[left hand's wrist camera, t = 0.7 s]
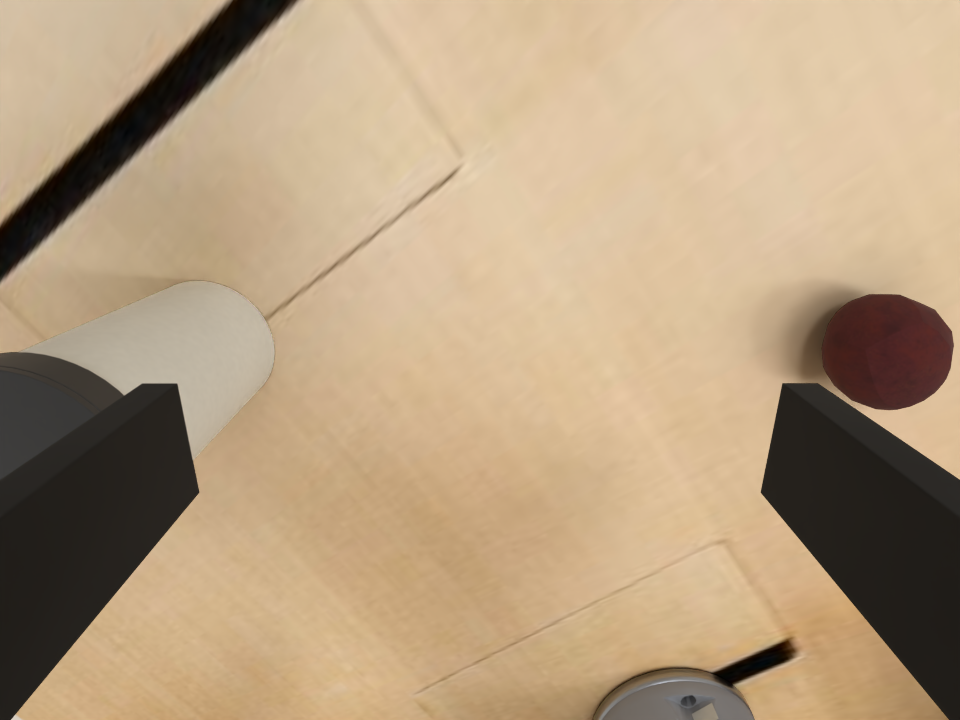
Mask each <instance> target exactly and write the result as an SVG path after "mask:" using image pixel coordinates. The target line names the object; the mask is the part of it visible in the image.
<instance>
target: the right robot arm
mask: <svg viewBox="0 0 960 720" xmlns="http://www.w3.org/2000/svg"><path fill="white" fill-rule="evenodd" d="M593 720H755V719H754V717H753V714H752V712H751V710H750V708H749V706H748V704H747V702H746V700H745V698H744V696H743V695H742V694H741V692H740V691H739V690H738V689H737V688H736V687H735V686H733V685H732V684H731V683H730V682H728V681H726V680H725V679H723V678H721V677H719V676H717V675H714V674H711V673H708V672H704V671H700V670H693V669H666V670H660V671H655V672H651V673H647V674H644V675H641V676H638V677H636V678H634V679H632V680H630V681H628V682H626V683H624V684H622V685H621V686H619V687H618V688H617V689H615V690H614V691H613V692H612V693H610V694H609V695H608V696H607V697H606V698H605V699H604V701H603V702H602V703H601V705H600V706H599V708H598V709H597V711H596V713H595V715H594V718H593Z"/></svg>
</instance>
